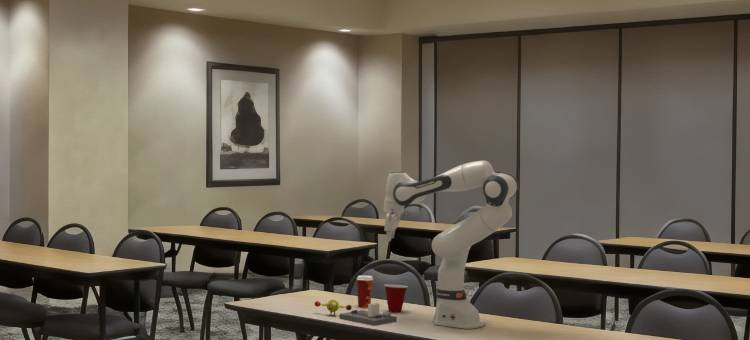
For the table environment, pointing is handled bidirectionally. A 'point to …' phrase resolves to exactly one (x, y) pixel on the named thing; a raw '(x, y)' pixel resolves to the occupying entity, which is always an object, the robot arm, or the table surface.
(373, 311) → the block
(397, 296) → the plastic cup
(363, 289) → the paper cup
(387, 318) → the console
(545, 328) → the table surface
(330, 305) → the toy figure
